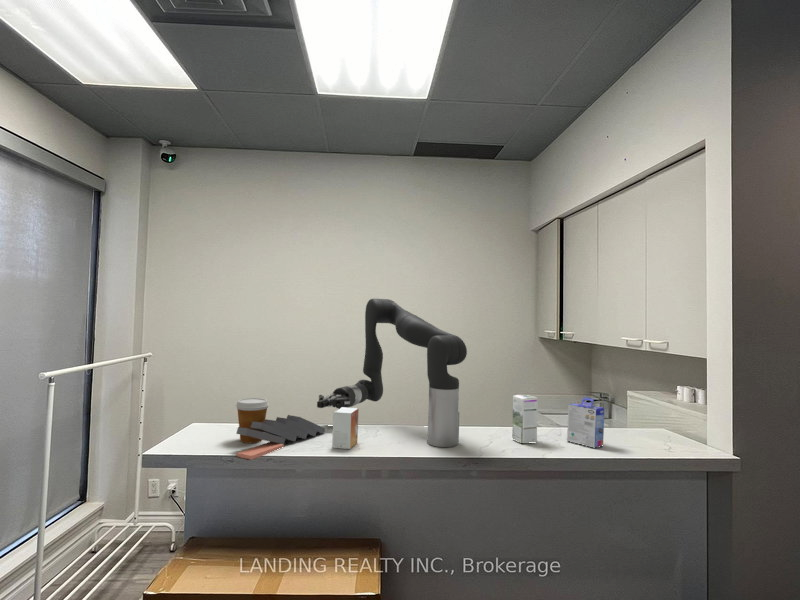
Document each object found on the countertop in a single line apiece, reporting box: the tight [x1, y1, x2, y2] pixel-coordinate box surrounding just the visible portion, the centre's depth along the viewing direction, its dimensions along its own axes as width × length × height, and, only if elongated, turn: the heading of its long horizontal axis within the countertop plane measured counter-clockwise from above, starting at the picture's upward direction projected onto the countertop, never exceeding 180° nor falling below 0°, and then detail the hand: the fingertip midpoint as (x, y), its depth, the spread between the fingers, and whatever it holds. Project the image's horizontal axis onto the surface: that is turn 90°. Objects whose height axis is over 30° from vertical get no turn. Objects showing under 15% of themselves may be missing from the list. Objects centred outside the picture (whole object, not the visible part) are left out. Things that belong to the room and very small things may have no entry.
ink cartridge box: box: [566, 397, 605, 448], centre depth 156 cm, size 10×6×14 cm, turn 39°
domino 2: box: [235, 426, 286, 445], centre depth 141 cm, size 2×5×13 cm
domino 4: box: [264, 418, 308, 440], centre depth 148 cm, size 2×5×13 cm
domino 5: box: [275, 416, 318, 437], centre depth 151 cm, size 2×5×13 cm
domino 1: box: [250, 422, 297, 442], centre depth 144 cm, size 2×5×13 cm
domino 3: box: [236, 441, 285, 461], centre depth 137 cm, size 2×5×13 cm
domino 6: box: [286, 414, 326, 435], centre depth 155 cm, size 2×5×13 cm
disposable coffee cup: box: [235, 397, 270, 444], centre depth 148 cm, size 10×10×12 cm
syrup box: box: [512, 394, 538, 444], centre depth 157 cm, size 6×6×14 cm
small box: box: [331, 407, 360, 450], centre depth 146 cm, size 8×6×10 cm
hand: (319, 404), depth 160 cm, fingers closed
